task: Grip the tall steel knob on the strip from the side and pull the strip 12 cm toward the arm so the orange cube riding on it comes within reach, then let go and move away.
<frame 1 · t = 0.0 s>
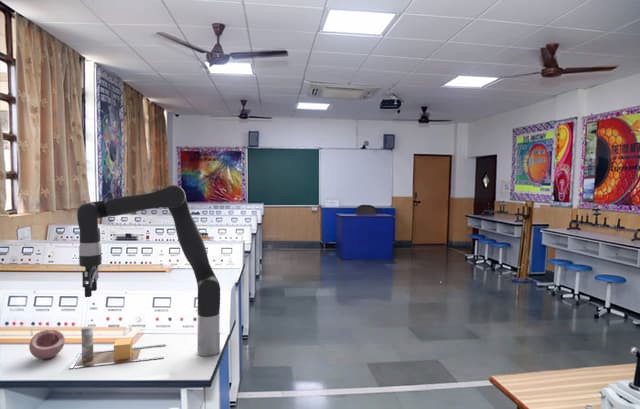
hand: (91, 293, 154), 29 cm above the table, tool pointing down, fingers open, 8 cm apart
track: (123, 359, 161), on the table
strip: (109, 343, 159), point 7 cm above the table, slide at 0.0 cm, touching cube
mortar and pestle: (47, 357, 161), on the table
cube: (123, 355, 161), point 1 cm above the table, touching strip
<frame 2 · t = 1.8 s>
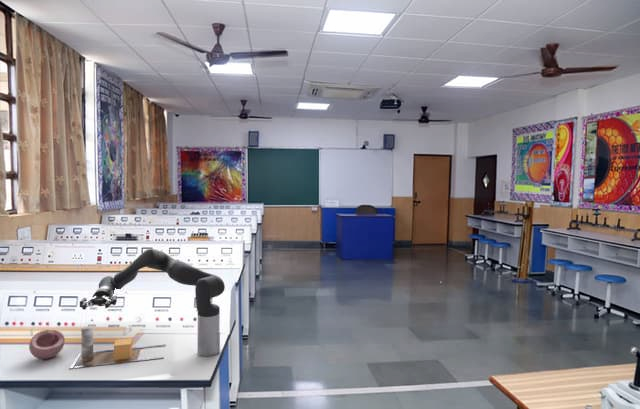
hand: (95, 306, 169), 19 cm above the table, tool horizontal, fingers open, 8 cm apart
nothing on the table moved.
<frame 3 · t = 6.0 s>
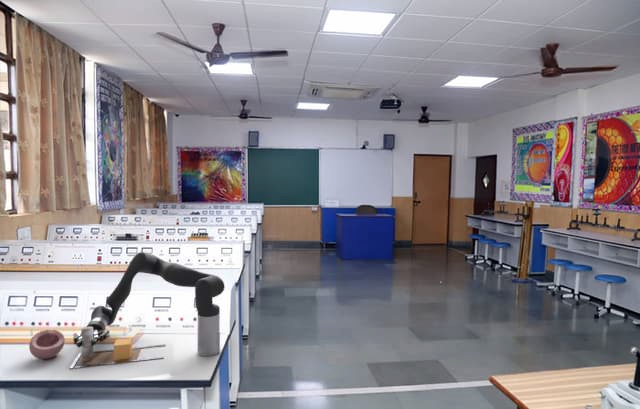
hand: (85, 344, 154), 9 cm above the table, tool horizontal, fingers closed on strip, 4 cm apart
strip: (109, 343, 159), point 7 cm above the table, slide at 0.0 cm, touching cube, gripper
everything else where it was.
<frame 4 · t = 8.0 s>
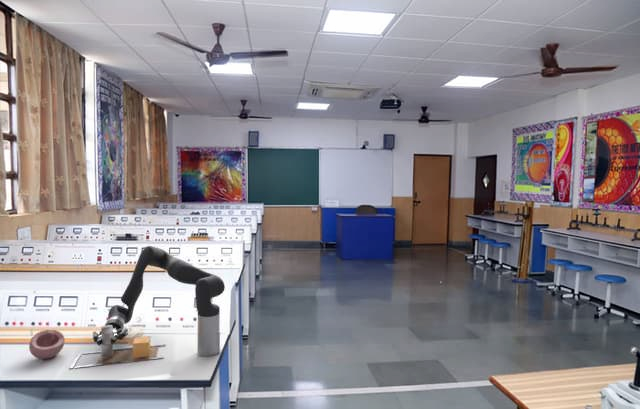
hand: (105, 342, 156), 9 cm above the table, tool horizontal, fingers closed on strip, 4 cm apart
strip: (128, 341, 161), point 7 cm above the table, slide at 7.1 cm, touching cube, gripper
cube: (141, 353, 163), point 1 cm above the table, touching strip
everything else where it was.
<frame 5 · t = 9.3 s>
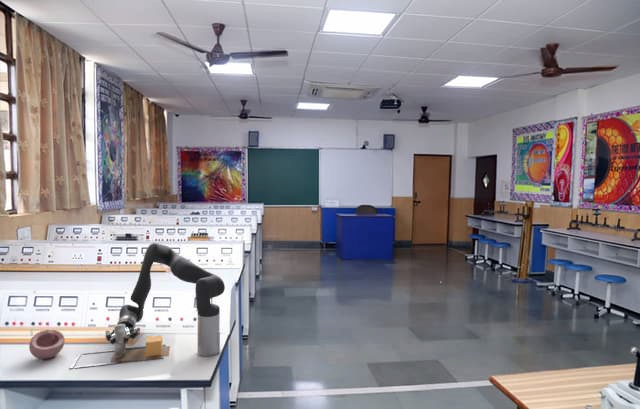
hand: (119, 341, 158), 9 cm above the table, tool horizontal, fingers closed on strip, 4 cm apart
strip: (141, 340, 163), point 7 cm above the table, slide at 11.9 cm, touching cube, gripper
cube: (154, 352, 165), point 1 cm above the table, touching strip
everything else where it was.
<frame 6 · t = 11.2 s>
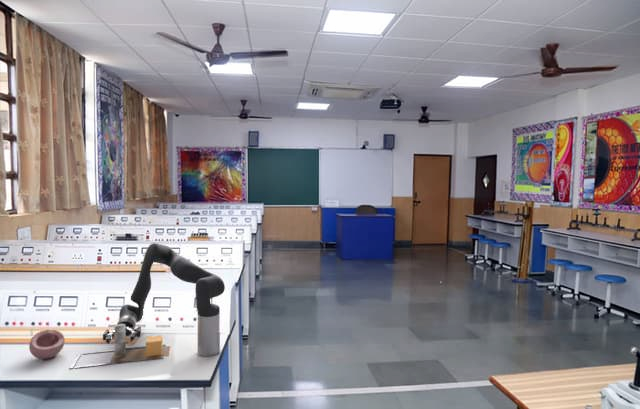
hand: (119, 340, 159), 9 cm above the table, tool horizontal, fingers open, 8 cm apart
strip: (141, 340, 163), point 7 cm above the table, slide at 11.9 cm, touching cube
everything else where it was.
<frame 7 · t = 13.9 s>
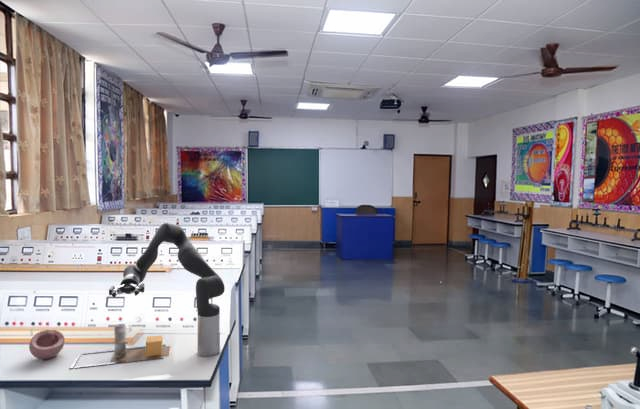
hand: (124, 294, 170), 24 cm above the table, tool horizontal, fingers open, 8 cm apart
nothing on the table moved.
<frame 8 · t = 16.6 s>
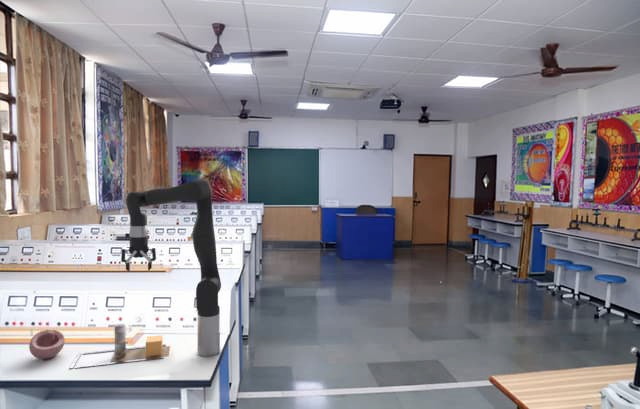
hand: (139, 270, 177), 33 cm above the table, tool pointing down, fingers open, 8 cm apart
nothing on the table moved.
at the end: strip slide at 11.9 cm; cube inside the target area (0.1 cm from its centre), point 1.5 cm above the table; cube tilted 0° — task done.
